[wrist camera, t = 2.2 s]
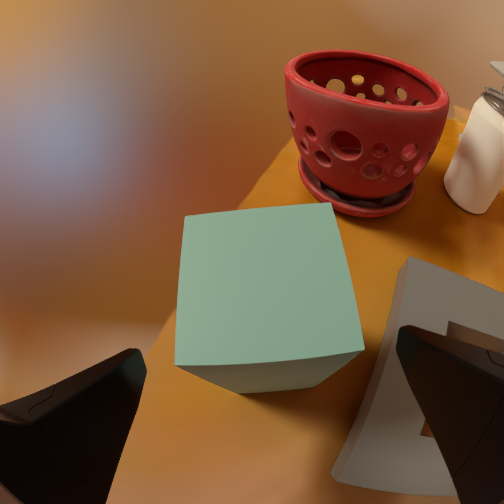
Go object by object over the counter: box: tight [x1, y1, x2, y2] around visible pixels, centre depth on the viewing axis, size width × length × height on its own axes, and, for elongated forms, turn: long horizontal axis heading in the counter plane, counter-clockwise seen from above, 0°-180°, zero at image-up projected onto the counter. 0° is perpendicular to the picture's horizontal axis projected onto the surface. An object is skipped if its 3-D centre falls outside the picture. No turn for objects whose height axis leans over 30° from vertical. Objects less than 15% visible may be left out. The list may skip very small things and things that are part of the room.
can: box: [444, 92, 504, 214], centre depth 19 cm, size 6×6×12 cm
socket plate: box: [330, 256, 504, 496], centre depth 13 cm, size 16×16×2 cm
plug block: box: [175, 202, 365, 394], centre depth 13 cm, size 5×5×12 cm
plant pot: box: [285, 50, 449, 217], centre depth 21 cm, size 13×13×12 cm
